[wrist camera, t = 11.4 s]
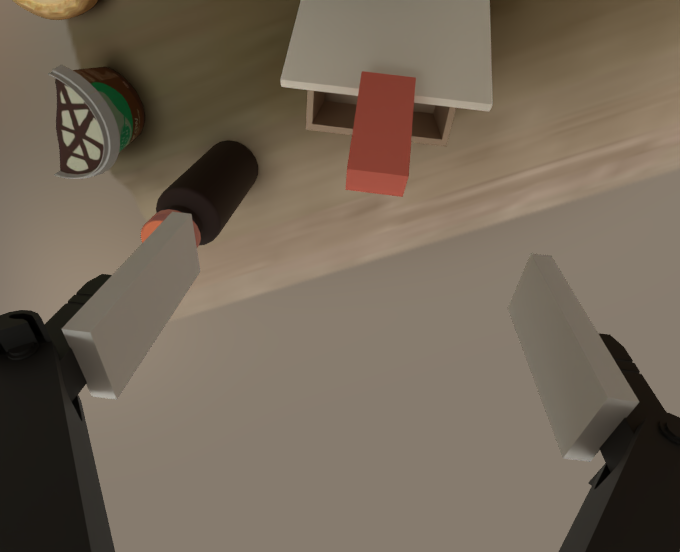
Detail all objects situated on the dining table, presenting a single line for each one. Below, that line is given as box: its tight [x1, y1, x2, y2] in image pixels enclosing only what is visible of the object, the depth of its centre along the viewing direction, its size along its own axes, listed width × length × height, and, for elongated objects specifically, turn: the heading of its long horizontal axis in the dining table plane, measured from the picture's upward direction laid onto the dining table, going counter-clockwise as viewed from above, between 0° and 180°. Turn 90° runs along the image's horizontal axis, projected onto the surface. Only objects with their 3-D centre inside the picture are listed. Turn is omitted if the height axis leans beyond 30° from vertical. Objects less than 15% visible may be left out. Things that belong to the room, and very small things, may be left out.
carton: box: [306, 90, 456, 147], centre depth 40 cm, size 12×14×10 cm
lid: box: [280, 0, 493, 197], centre depth 28 cm, size 20×14×2 cm
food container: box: [48, 65, 145, 179], centre depth 47 cm, size 12×6×10 cm, turn 159°
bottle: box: [141, 141, 258, 247], centre depth 46 cm, size 7×7×20 cm
